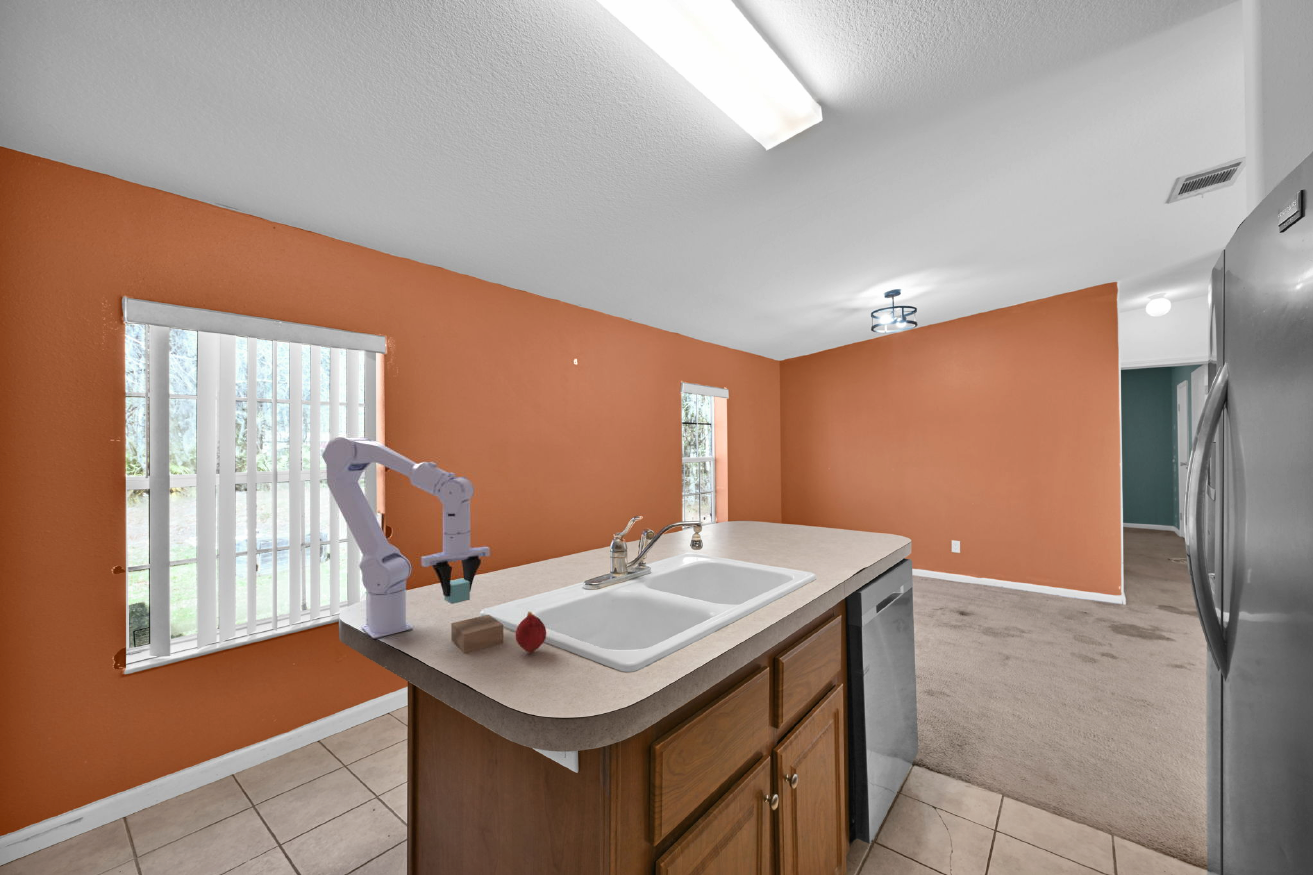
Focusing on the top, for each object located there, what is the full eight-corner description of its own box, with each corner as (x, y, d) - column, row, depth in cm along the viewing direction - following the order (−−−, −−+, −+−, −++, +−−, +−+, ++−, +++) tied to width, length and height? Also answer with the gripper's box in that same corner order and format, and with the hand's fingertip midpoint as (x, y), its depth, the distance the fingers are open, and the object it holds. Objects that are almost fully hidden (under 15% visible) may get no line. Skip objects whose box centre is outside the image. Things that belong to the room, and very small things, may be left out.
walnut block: (451, 642, 104) (451, 623, 105) (489, 632, 110) (489, 614, 110) (464, 654, 98) (464, 634, 98) (503, 643, 103) (503, 624, 103)
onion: (550, 646, 101) (549, 607, 101) (540, 659, 95) (540, 617, 95) (522, 646, 101) (521, 606, 101) (511, 658, 96) (510, 616, 96)
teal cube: (444, 599, 111) (444, 581, 111) (462, 595, 114) (462, 578, 114) (451, 603, 108) (451, 585, 108) (469, 599, 111) (469, 581, 111)
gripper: (429, 539, 103) (430, 604, 103) (495, 530, 114) (496, 589, 113) (417, 534, 108) (418, 597, 108) (481, 526, 119) (482, 583, 118)
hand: (457, 593), depth 111 cm, fingers closed on teal cube, 4 cm apart
